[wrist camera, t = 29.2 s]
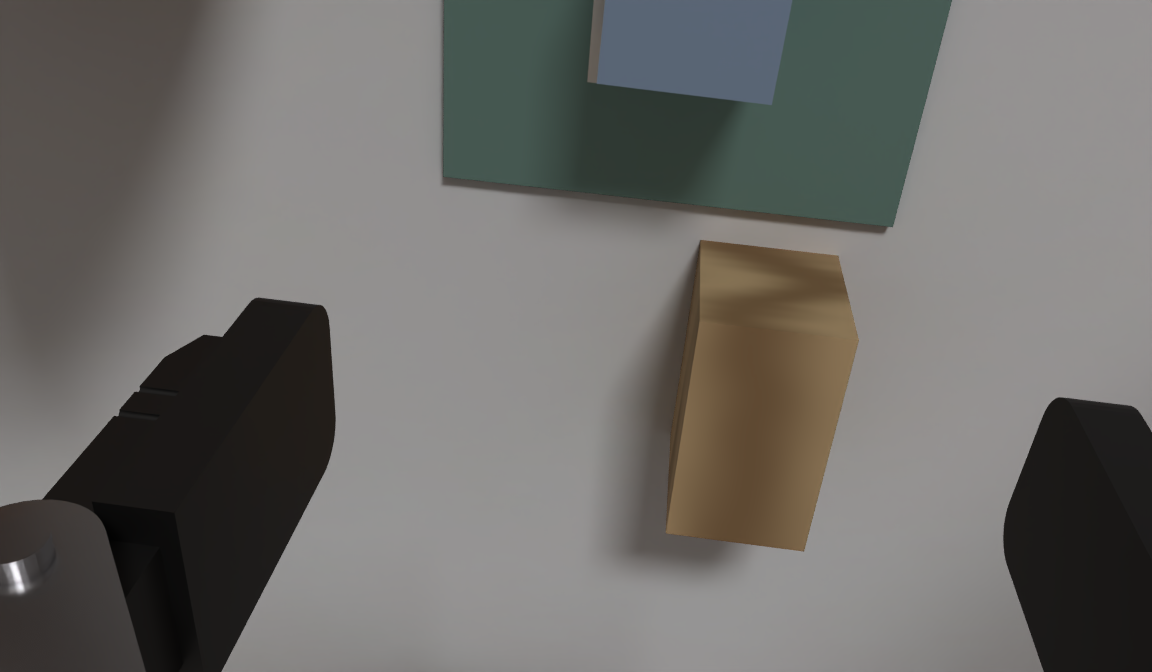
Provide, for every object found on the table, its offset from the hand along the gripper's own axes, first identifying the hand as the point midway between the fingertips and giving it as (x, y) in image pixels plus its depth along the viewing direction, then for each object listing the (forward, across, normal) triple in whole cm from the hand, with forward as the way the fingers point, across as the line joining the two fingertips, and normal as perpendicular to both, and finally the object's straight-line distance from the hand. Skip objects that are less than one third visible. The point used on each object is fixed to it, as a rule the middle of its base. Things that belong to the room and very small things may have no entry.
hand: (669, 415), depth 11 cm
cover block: (+24, -4, +14) cm, 28 cm away
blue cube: (+24, 0, 0) cm, 24 cm away
